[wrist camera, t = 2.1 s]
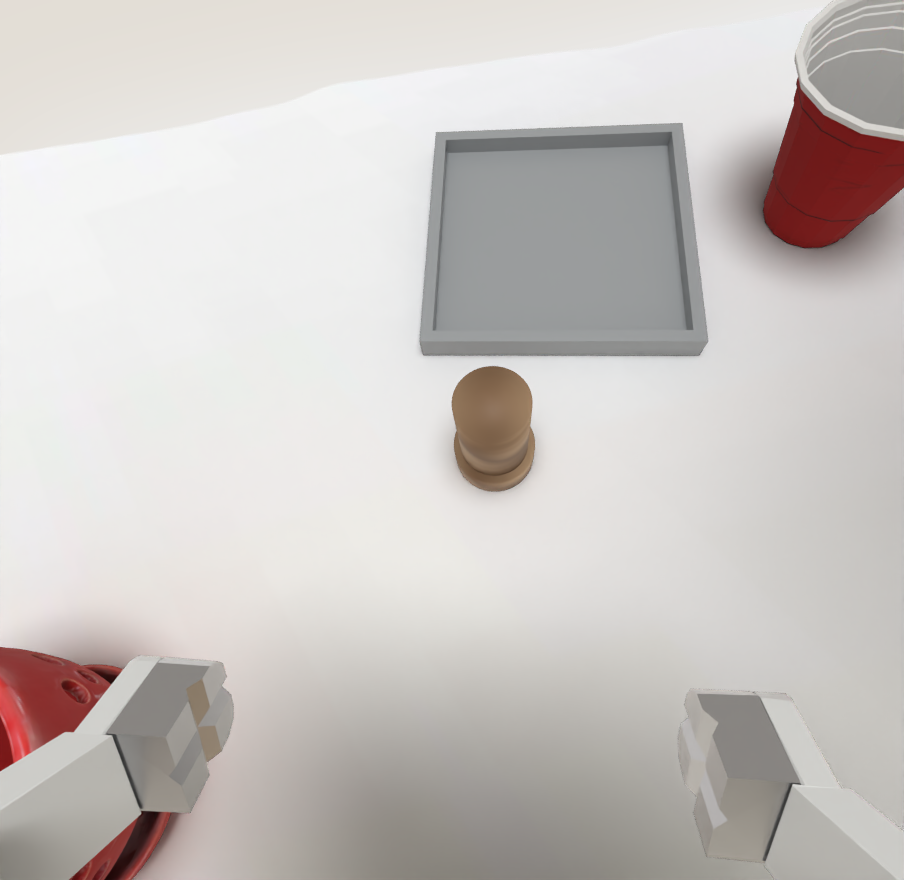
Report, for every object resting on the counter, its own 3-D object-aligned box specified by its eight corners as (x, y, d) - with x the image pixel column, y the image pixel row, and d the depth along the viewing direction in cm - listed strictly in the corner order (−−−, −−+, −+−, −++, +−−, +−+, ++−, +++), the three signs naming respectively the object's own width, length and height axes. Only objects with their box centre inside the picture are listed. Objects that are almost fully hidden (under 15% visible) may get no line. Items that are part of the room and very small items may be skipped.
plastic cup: (701, 171, 42) (772, -3, 31) (848, 144, 42) (974, -43, 31) (751, 294, 38) (853, 145, 27) (914, 265, 38) (1085, 102, 27)
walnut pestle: (533, 419, 36) (540, 359, 29) (533, 492, 35) (540, 448, 27) (458, 418, 37) (446, 359, 29) (454, 490, 35) (441, 446, 28)
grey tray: (675, 143, 43) (682, 123, 41) (699, 355, 37) (708, 341, 35) (438, 151, 45) (435, 132, 43) (423, 354, 39) (419, 341, 37)
